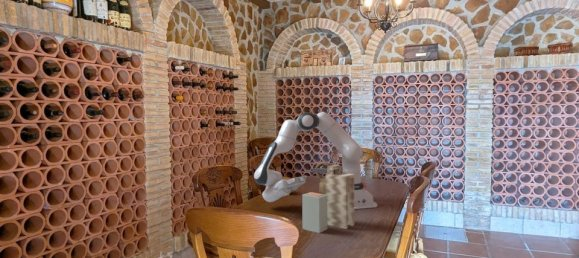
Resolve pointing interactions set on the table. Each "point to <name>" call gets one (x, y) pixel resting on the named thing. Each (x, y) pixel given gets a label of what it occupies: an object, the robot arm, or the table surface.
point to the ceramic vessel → (322, 180)
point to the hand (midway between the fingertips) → (300, 177)
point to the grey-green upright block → (314, 212)
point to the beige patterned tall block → (339, 197)
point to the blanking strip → (322, 170)
